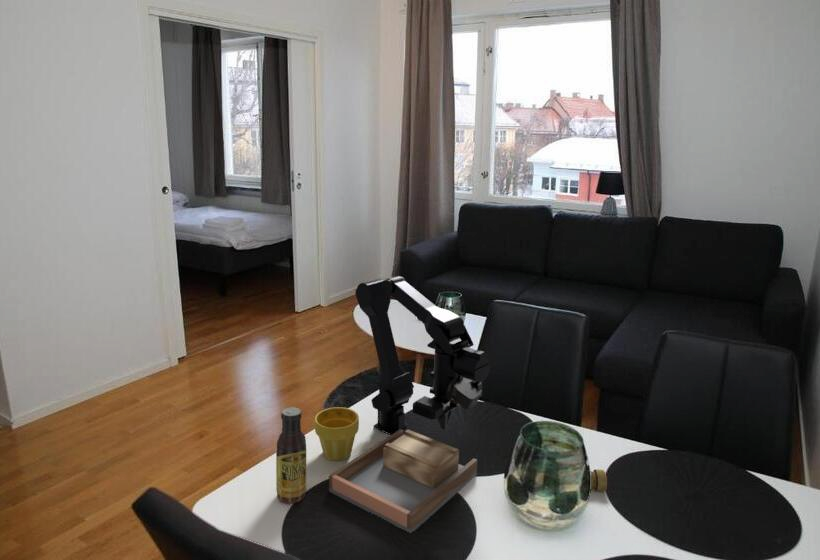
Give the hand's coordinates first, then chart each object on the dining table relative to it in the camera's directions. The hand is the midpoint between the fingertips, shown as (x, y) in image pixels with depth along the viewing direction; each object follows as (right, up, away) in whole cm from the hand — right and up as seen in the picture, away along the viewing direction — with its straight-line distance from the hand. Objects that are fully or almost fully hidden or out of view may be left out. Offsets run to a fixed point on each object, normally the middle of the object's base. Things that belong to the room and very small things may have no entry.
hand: (444, 428), depth 141 cm
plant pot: (-26, -6, +1) cm, 26 cm away
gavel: (+30, -9, -3) cm, 31 cm away
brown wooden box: (-6, -7, -6) cm, 11 cm away
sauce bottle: (-33, -11, -16) cm, 38 cm away
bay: (-9, -9, -10) cm, 17 cm away
